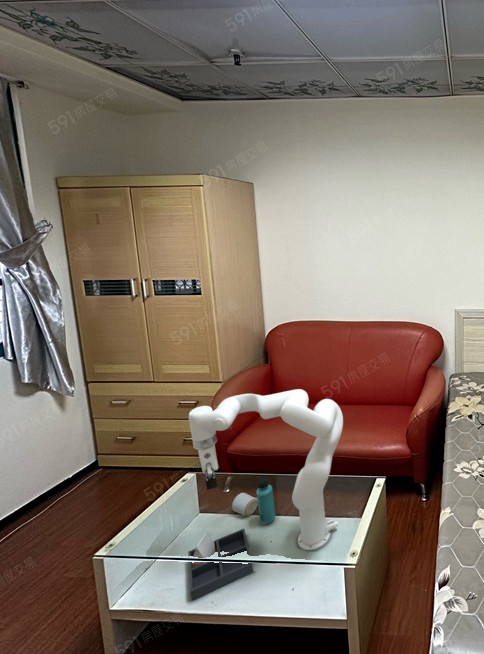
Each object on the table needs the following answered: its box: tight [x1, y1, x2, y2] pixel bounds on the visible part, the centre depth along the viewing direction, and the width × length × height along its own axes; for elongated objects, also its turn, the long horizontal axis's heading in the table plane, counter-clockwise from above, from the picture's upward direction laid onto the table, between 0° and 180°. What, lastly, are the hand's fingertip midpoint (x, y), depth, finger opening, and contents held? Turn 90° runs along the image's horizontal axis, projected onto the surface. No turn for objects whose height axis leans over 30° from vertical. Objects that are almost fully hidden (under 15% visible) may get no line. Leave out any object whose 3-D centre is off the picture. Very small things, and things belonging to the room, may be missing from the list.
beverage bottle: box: [255, 477, 277, 524], centre depth 173 cm, size 6×7×20 cm
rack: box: [187, 528, 254, 602], centre depth 153 cm, size 19×19×4 cm
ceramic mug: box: [231, 492, 258, 517], centre depth 180 cm, size 11×8×8 cm
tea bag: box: [193, 532, 215, 567], centre depth 154 cm, size 4×7×10 cm, turn 179°
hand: (211, 480), depth 153 cm, fingers open, 9 cm apart
